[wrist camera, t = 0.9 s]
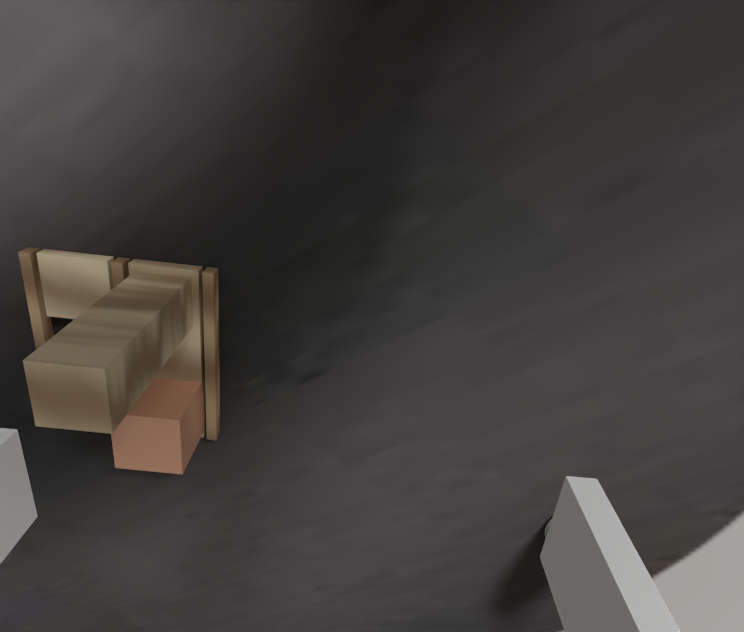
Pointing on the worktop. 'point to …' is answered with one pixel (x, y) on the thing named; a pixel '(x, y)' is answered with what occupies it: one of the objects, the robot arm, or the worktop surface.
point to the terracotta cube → (160, 428)
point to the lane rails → (119, 273)
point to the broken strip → (73, 281)
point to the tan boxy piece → (121, 349)
